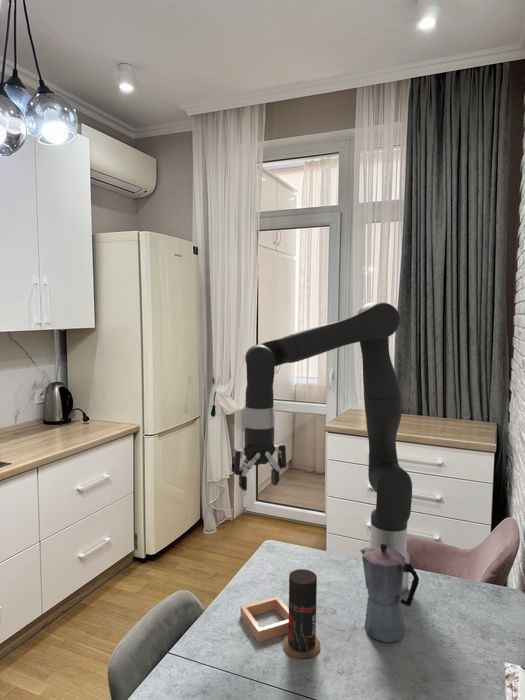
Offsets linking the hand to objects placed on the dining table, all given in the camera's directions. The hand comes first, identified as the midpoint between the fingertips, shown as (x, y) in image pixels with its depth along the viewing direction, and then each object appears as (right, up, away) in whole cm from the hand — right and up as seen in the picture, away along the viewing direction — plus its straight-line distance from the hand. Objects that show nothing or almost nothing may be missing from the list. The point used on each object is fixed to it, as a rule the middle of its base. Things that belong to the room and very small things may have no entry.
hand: (259, 487), depth 122 cm
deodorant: (+9, -29, -18) cm, 35 cm away
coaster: (+9, -29, -18) cm, 36 cm away
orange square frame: (+2, -29, -10) cm, 31 cm away
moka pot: (+29, -29, -13) cm, 43 cm away
